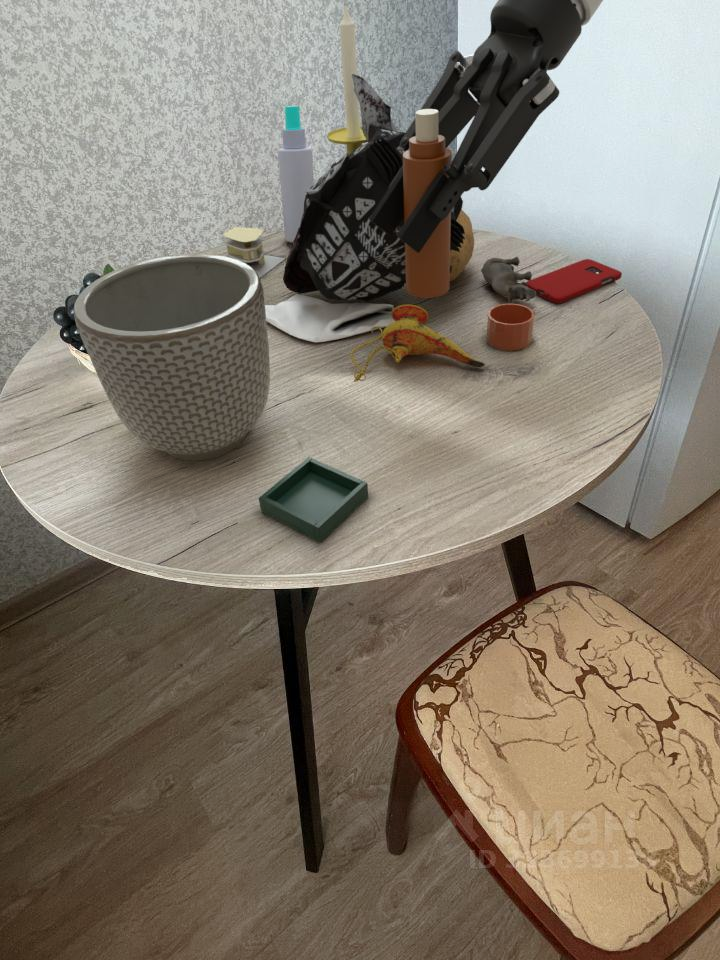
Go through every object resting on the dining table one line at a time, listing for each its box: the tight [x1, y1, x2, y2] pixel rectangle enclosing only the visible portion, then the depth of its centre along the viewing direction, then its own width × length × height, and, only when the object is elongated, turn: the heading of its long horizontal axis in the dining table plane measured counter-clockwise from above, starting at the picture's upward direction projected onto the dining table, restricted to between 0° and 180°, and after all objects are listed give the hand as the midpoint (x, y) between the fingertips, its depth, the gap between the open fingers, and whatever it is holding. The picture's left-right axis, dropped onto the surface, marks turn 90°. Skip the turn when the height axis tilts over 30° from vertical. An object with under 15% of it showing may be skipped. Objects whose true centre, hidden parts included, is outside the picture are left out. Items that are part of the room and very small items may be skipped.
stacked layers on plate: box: [222, 226, 286, 279], centre depth 122 cm, size 10×9×6 cm
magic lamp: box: [350, 304, 486, 383], centre depth 93 cm, size 7×18×11 cm
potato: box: [450, 209, 475, 282], centre depth 112 cm, size 9×16×9 cm, turn 158°
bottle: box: [403, 109, 453, 299], centre depth 66 cm, size 4×4×16 cm
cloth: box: [265, 293, 395, 343], centre depth 105 cm, size 26×14×2 cm, turn 66°
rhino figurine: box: [480, 256, 537, 304], centre depth 108 cm, size 4×14×6 cm
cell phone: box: [524, 258, 623, 305], centre depth 110 cm, size 8×15×1 cm, turn 124°
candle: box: [326, 2, 368, 155], centre depth 110 cm, size 10×10×38 cm
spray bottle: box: [277, 105, 315, 244], centre depth 124 cm, size 6×6×22 cm
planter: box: [73, 253, 271, 462], centre depth 79 cm, size 20×20×19 cm
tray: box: [258, 456, 369, 544], centre depth 74 cm, size 8×8×2 cm
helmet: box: [282, 74, 465, 302], centre depth 103 cm, size 26×26×30 cm
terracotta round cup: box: [486, 302, 535, 352], centre depth 97 cm, size 6×6×4 cm
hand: (393, 235), depth 66 cm, fingers closed on bottle, 4 cm apart
